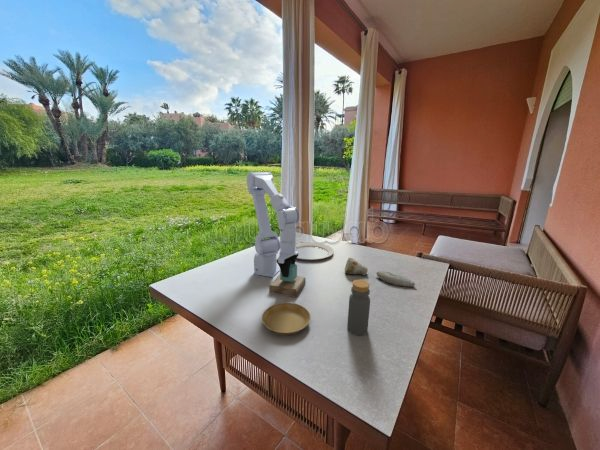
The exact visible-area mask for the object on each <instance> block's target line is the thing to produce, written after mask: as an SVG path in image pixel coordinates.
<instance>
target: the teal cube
mask: <svg viewBox="0 0 600 450" xmlns="http://www.w3.org/2000/svg"><path fill="white" fill-rule="evenodd" d="M279 269H280V268H279ZM279 275H280V280H284V281H290V282H293V281H294V279H295V278H296V277H297V276H298V264H297V263H295V264H291V265H290V269H289V276H288V277H283V276H282V273H281V269H280V270H279Z"/></svg>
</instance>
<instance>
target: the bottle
mask: <svg viewBox="0 0 600 450" xmlns="http://www.w3.org/2000/svg"><path fill="white" fill-rule="evenodd" d="M350 289H351V294H350V295H349V299H348V300H349V301H348V311H347V313H348V314H347V326H346V327H347V330H348V332H349V333H351V335H355V336H365V335H366V334H367V333H368V328H369V326H368V325H369V318H370V308H371V297H370V296H369V295H370V293H371V292H370V291H371V290H370V283H369V282H368V281H367V280H363V279H354V280H353V281H352V286H351V287H350Z"/></svg>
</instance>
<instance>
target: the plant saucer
mask: <svg viewBox="0 0 600 450" xmlns="http://www.w3.org/2000/svg"><path fill="white" fill-rule="evenodd" d="M261 321H262V324H263V325H264V326H265V327H266V328H267V329H268V330H270V331H271V332H273V333H275V334H277V335H281V336H289V335H294V334H297V333H299V332H301V331H302V330H304V329H305V328H307V326H308V325H309V323H310V322H311V314H310V311H309V310H308V309H307V308H306V307H305V306H303V305H301V304H298V303H294V302H279V303H275V304H273V305H271V306H269V307H268V308H266V309H265V310H264V311H263V313H262V314H261Z"/></svg>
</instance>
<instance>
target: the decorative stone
mask: <svg viewBox="0 0 600 450" xmlns="http://www.w3.org/2000/svg"><path fill="white" fill-rule="evenodd" d="M376 276H377V277H378V278H379V279H380V280H382V281H383V282H385V283H388V284H392V285H395V286H400V287H409V288H410V287H411V288H413V287H415V285H416V284H415V282H414V281H412V280H410V278H408V277H405V276H404V275H401V274H398V273H395V272H390V271H387V270H379V271H376Z"/></svg>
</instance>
